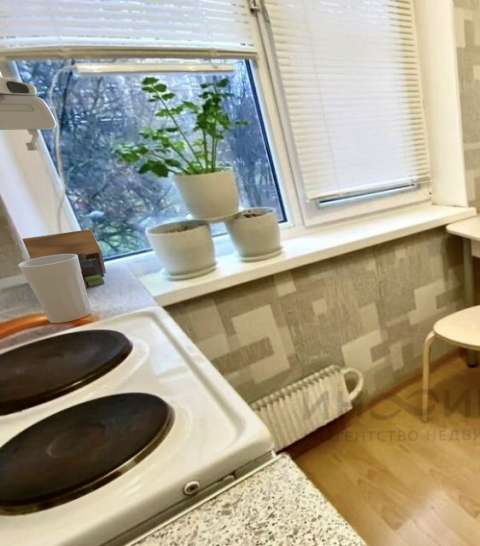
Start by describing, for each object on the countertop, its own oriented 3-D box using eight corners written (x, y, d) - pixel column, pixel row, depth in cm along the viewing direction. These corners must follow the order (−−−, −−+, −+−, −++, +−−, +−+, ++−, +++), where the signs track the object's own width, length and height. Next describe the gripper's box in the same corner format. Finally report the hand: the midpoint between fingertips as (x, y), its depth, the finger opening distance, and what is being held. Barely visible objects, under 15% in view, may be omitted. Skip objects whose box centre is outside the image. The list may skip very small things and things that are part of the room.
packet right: (84, 277, 103) (85, 282, 103) (87, 282, 100) (89, 286, 100) (99, 274, 105) (100, 279, 105) (103, 278, 102) (104, 283, 102)
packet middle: (66, 281, 101) (68, 285, 101) (69, 285, 98) (71, 290, 98) (82, 278, 103) (84, 282, 103) (85, 282, 100) (87, 287, 100)
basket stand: (42, 288, 99) (32, 265, 97) (38, 280, 105) (28, 257, 103) (104, 276, 107) (96, 254, 105) (97, 268, 113) (89, 247, 111)
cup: (105, 311, 87) (85, 256, 83) (53, 327, 80) (29, 268, 76) (86, 305, 90) (66, 252, 86) (35, 320, 83) (10, 263, 79)
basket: (32, 265, 97) (47, 299, 95) (21, 237, 90) (37, 273, 88) (96, 254, 105) (111, 285, 103) (90, 227, 98) (106, 260, 96)
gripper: (-110, 80, 80) (-75, 155, 85) (44, 86, 95) (66, 149, 100) (-106, 82, 84) (-73, 153, 89) (41, 88, 99) (63, 148, 104)
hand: (2, 151), depth 94 cm, fingers open, 8 cm apart
